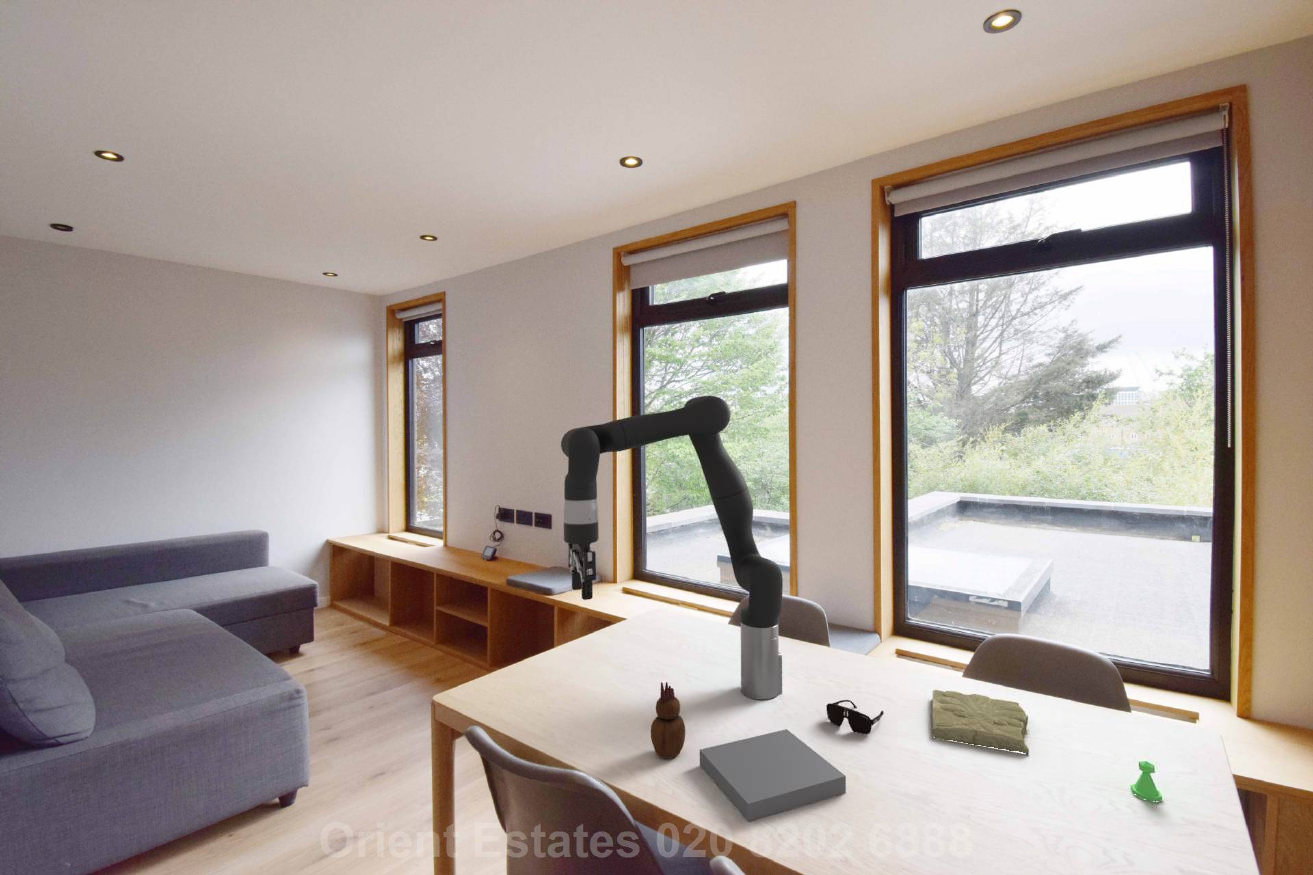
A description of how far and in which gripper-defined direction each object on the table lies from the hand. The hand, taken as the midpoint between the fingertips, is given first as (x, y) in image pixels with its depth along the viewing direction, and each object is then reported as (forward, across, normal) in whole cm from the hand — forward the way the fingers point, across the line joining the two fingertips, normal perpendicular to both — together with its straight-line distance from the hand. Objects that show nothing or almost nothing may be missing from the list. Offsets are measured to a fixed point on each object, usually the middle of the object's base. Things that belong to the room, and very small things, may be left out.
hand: (581, 594), depth 128 cm
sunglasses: (+30, -21, -57) cm, 68 cm away
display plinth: (+29, -32, -27) cm, 51 cm away
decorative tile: (+30, -33, -80) cm, 92 cm away
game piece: (+30, -62, -85) cm, 109 cm away
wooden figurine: (+30, -17, -13) cm, 36 cm away
